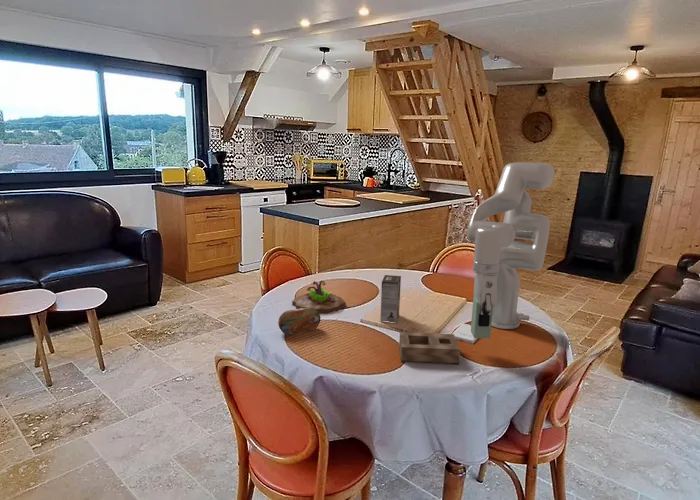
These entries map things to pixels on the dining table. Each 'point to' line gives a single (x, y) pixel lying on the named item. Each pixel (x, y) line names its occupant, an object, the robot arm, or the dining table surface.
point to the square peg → (475, 328)
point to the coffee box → (390, 298)
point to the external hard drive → (464, 333)
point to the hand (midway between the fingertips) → (481, 321)
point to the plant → (319, 300)
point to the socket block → (429, 348)
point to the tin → (299, 321)
